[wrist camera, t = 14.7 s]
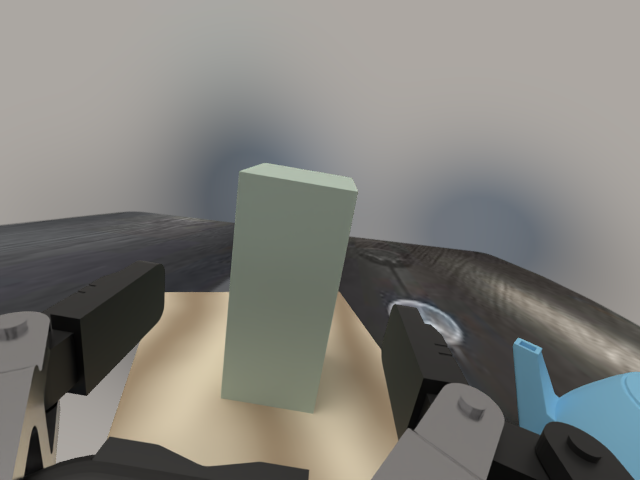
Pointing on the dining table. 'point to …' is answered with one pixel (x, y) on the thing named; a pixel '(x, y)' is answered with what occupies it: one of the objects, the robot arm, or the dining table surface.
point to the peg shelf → (252, 419)
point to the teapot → (581, 405)
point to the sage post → (284, 283)
